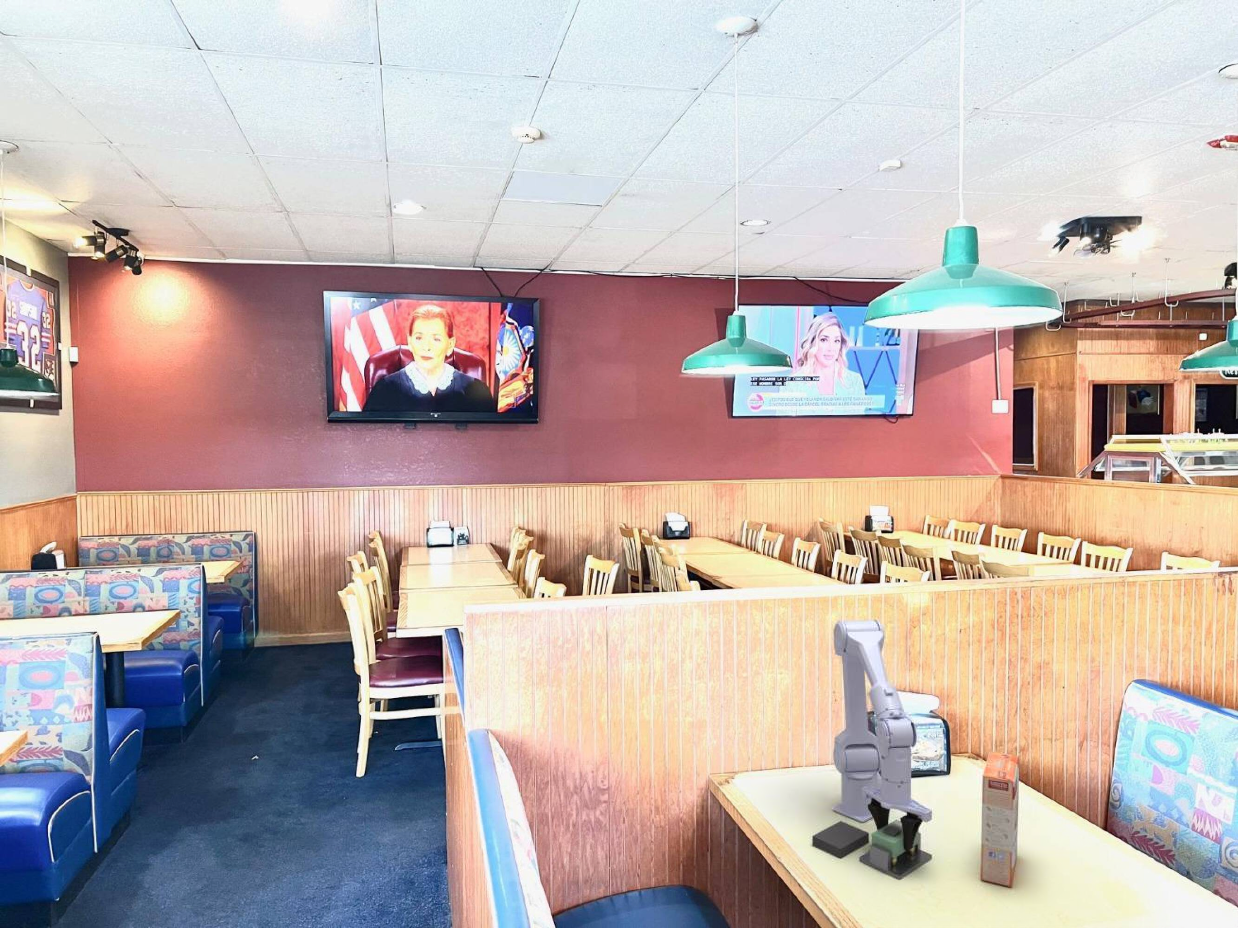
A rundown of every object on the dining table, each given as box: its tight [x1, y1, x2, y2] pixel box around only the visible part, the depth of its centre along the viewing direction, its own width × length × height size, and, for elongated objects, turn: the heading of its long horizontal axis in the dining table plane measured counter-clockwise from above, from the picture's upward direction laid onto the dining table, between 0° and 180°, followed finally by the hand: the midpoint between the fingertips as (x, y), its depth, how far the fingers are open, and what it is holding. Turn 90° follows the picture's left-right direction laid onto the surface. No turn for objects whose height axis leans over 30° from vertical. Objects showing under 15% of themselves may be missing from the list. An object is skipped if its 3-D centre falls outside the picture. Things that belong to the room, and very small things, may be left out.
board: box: [871, 819, 920, 858], centre depth 163 cm, size 9×5×4 cm, turn 129°
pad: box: [811, 820, 870, 859], centre depth 170 cm, size 10×7×2 cm
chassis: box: [858, 832, 933, 881], centre depth 163 cm, size 12×9×4 cm
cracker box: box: [980, 750, 1020, 888], centre depth 160 cm, size 14×6×21 cm, turn 150°
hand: (895, 843), depth 163 cm, fingers closed on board, 5 cm apart
